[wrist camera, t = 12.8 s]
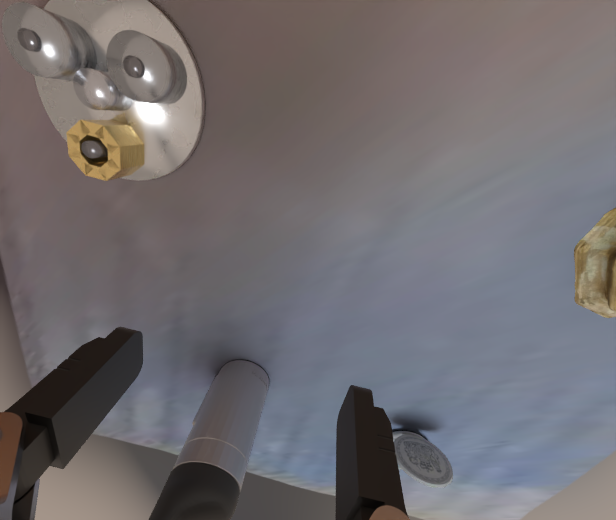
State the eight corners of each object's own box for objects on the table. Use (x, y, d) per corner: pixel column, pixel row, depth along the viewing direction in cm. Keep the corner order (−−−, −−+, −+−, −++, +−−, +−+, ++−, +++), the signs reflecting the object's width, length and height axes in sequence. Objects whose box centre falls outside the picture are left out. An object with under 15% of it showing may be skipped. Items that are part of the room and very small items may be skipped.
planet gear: (122, 181, 39) (96, 188, 35) (88, 139, 37) (56, 141, 33) (153, 156, 37) (130, 161, 33) (119, 111, 35) (90, 109, 31)
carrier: (128, 206, 41) (95, 219, 36) (9, 64, 35) (-55, 53, 30) (238, 122, 35) (219, 123, 30) (117, -66, 29) (64, -111, 24)
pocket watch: (465, 493, 44) (429, 540, 50) (442, 425, 54) (415, 472, 60) (399, 478, 44) (372, 528, 50) (388, 413, 54) (366, 461, 60)
